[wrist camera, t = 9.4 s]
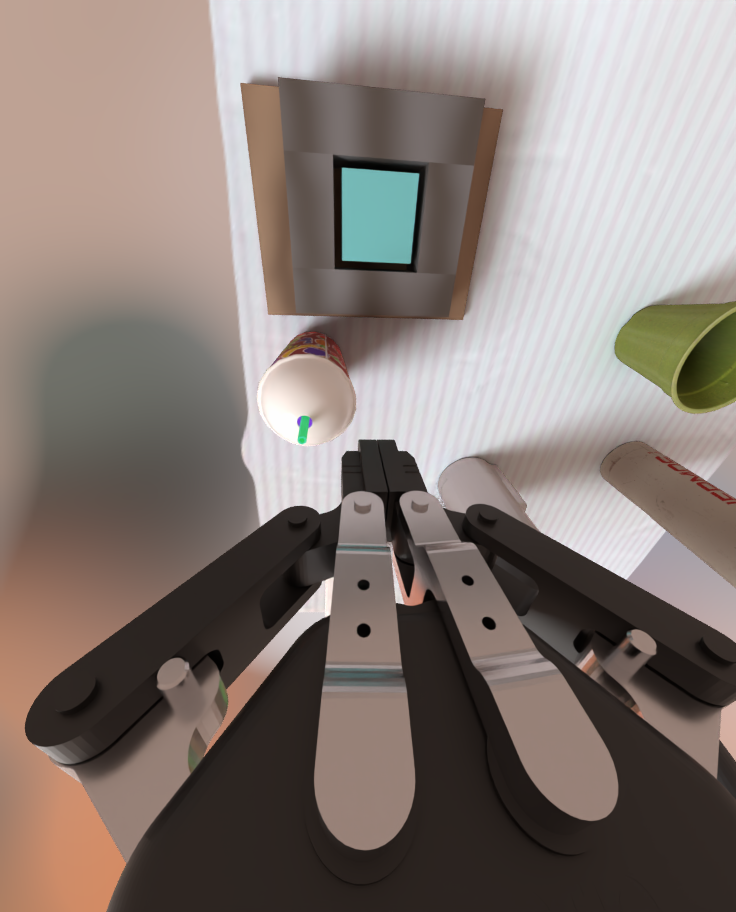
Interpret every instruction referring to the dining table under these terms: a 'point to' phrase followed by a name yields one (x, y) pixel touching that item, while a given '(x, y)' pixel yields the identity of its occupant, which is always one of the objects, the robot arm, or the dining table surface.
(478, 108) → the button console
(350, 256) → the button plunger
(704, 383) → the plant pot
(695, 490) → the thermos bottle
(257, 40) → the dining table surface
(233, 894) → the robot arm
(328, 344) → the smoothie
